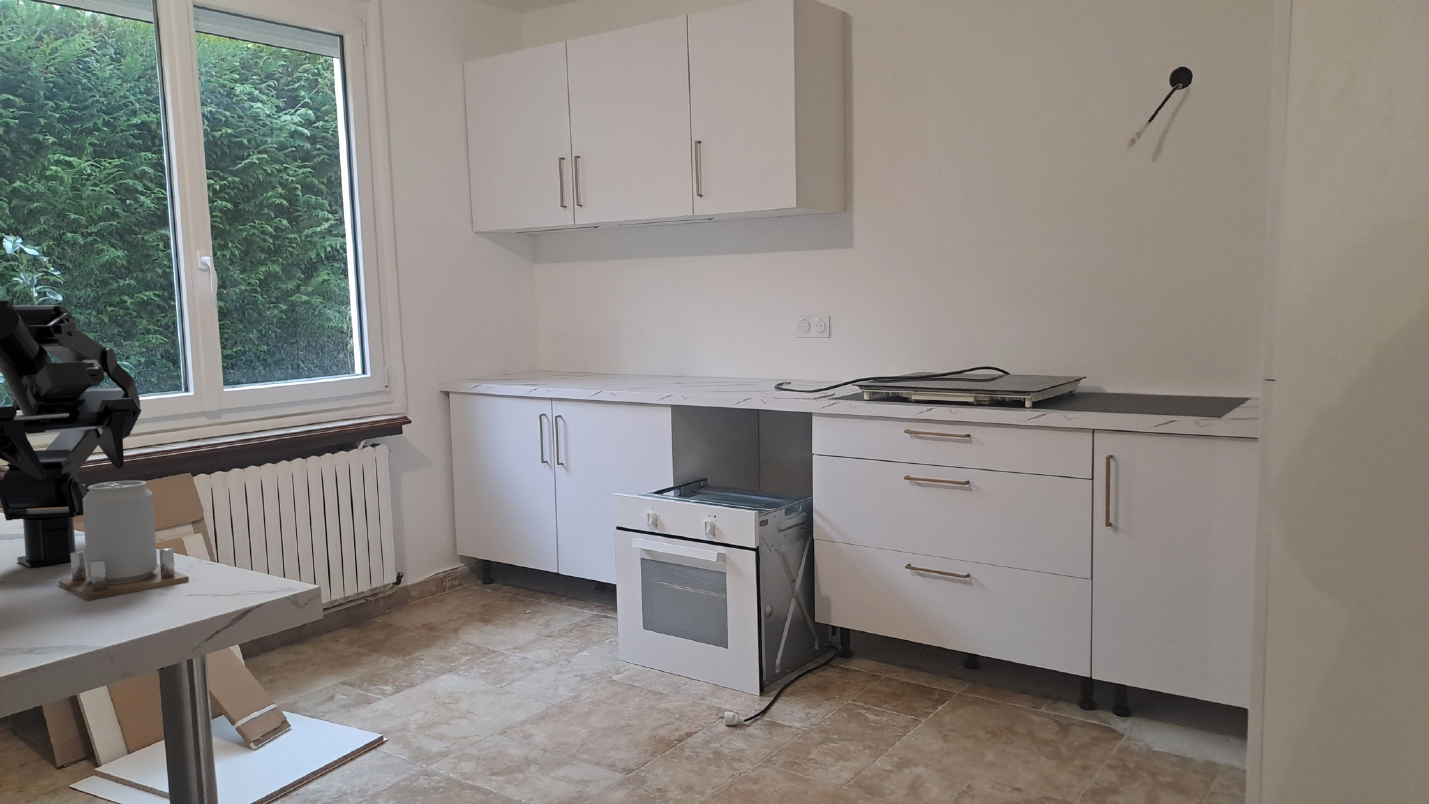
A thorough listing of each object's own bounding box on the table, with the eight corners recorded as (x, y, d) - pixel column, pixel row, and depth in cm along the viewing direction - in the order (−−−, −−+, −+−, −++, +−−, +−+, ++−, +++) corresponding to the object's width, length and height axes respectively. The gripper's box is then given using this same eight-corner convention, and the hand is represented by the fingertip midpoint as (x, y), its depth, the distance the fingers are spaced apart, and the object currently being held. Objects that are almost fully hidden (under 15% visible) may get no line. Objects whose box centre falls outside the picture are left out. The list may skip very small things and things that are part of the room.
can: (125, 587, 117) (119, 488, 116) (72, 585, 118) (65, 487, 117) (171, 571, 124) (166, 478, 123) (121, 569, 126) (115, 477, 125)
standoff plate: (59, 585, 121) (56, 552, 120) (155, 568, 129) (153, 537, 129) (88, 600, 113) (86, 565, 113) (188, 581, 122) (186, 548, 121)
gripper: (-32, 341, 117) (17, 437, 112) (129, 338, 133) (179, 422, 128) (-55, 405, 122) (-9, 499, 117) (103, 395, 137) (150, 478, 132)
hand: (83, 472), depth 123 cm, fingers open, 9 cm apart
